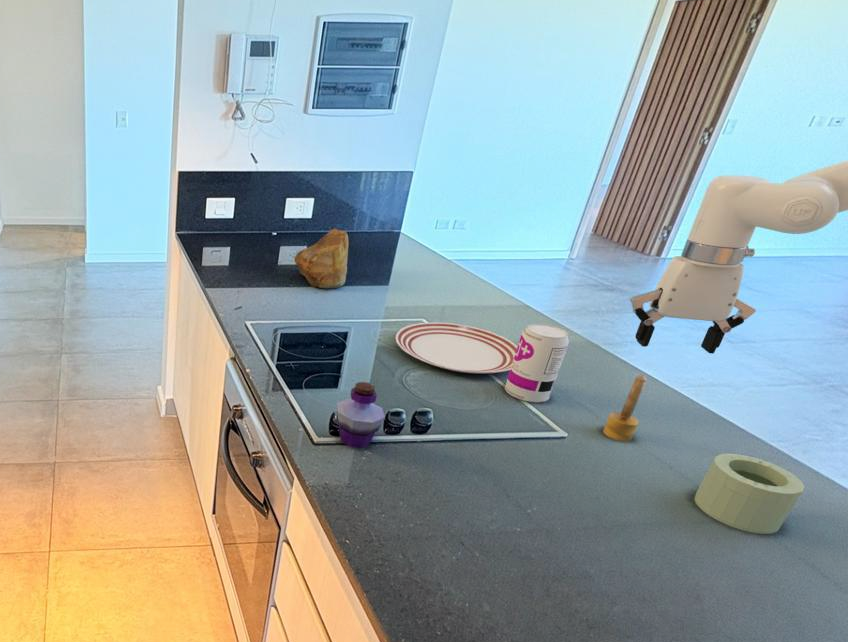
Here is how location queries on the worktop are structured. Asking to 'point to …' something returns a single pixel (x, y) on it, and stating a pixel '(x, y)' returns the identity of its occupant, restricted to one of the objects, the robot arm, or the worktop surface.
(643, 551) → the worktop surface
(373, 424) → the potion bottle
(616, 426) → the peg with round base
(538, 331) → the supplement can
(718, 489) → the pale green hollow cylinder
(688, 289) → the robot arm
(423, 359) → the dinner plate
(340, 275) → the rough brown rock
